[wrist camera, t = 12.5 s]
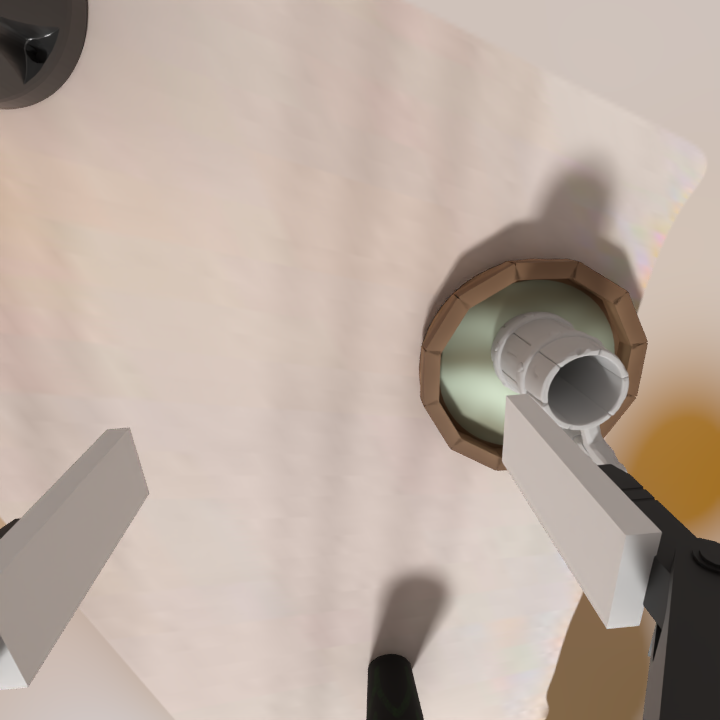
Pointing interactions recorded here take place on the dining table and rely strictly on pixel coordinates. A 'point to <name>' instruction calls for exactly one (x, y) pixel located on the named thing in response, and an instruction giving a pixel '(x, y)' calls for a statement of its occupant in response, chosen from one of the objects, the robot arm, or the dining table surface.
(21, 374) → the dining table surface
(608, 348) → the tray
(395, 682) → the cup
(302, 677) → the dining table surface
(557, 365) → the mug
